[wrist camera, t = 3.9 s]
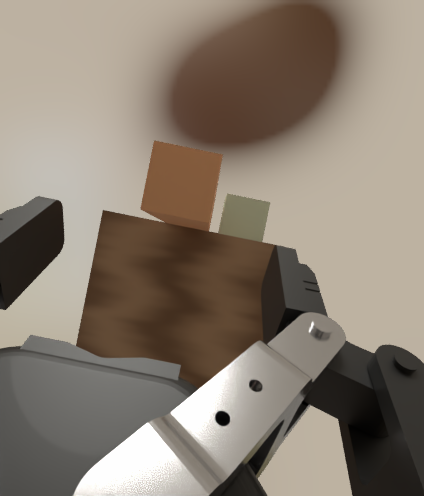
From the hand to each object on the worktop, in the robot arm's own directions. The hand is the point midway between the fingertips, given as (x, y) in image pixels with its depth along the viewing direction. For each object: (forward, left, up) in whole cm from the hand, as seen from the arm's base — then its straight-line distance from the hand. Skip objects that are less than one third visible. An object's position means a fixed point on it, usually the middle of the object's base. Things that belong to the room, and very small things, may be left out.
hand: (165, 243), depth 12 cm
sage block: (+4, +20, +1) cm, 20 cm away
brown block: (0, +13, +1) cm, 13 cm away
